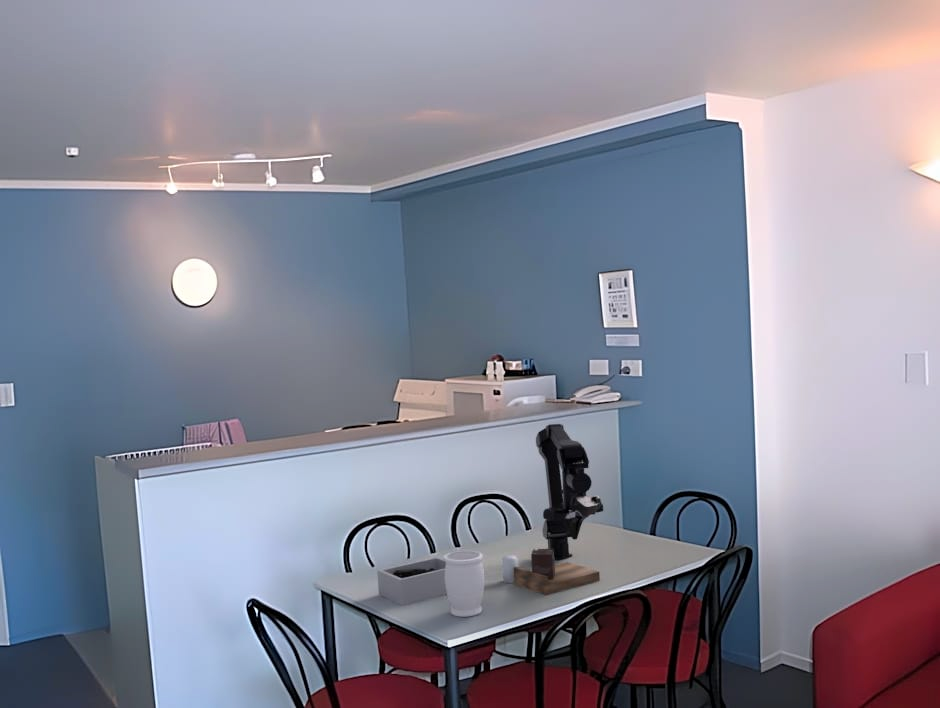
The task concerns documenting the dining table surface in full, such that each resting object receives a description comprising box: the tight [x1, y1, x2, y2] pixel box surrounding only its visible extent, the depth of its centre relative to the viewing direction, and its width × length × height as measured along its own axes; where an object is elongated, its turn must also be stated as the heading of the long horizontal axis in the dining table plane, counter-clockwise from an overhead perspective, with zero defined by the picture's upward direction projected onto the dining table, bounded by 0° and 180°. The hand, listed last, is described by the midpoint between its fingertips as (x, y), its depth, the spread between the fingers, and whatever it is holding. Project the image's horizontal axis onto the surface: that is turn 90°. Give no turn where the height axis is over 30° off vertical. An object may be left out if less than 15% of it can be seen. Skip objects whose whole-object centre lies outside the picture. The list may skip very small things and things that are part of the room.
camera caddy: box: [376, 556, 447, 607], centre depth 254 cm, size 13×20×7 cm, turn 124°
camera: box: [393, 568, 439, 578], centre depth 254 cm, size 14×7×8 cm, turn 83°
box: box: [530, 548, 556, 580], centre depth 254 cm, size 6×6×7 cm
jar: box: [443, 550, 485, 618], centre depth 234 cm, size 11×10×15 cm
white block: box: [501, 554, 519, 584], centre depth 260 cm, size 4×4×7 cm
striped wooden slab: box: [513, 561, 601, 596], centre depth 257 cm, size 14×20×5 cm
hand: (574, 539), depth 264 cm, fingers closed
